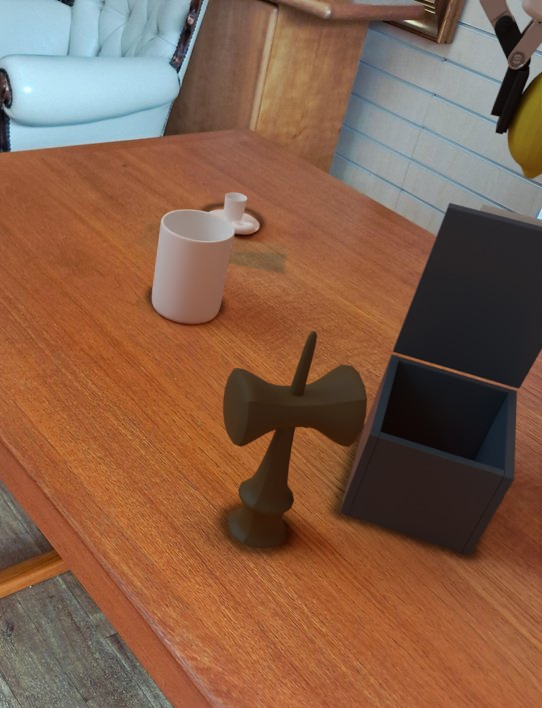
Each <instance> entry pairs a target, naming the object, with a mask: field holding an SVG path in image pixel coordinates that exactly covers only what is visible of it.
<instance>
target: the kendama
mask: <svg viewBox="0 0 542 708" xmlns="http://www.w3.org/2000/svg"><path fill="white" fill-rule="evenodd" d="M317 339H318V333H317V331H315V330H312V331H310V332H309V334H308V336H307V338H306V341H305V343H304V346H303V348H302V352H301V355H300V357H299V361H298V364H297V367H296V370H295V373H294V375H293V379H292V382H291V385H284V384H283V385H281V384H275V383H271V382H269V381H267V380H264V379H263V378H261V377H260V376H258V375H256V374H254V373H253V372H251V371H249V370H247V369H245V368H241V367H235V368H233V369H232V370H231V372H230V374H229V375H228V377H227V380H226V383H225V386H224V390H223V391H224V392H223V399H222V414H223V423H224V429H225V430H226V431H225V432H226V434H227V436H228V438H229V439H230V441H231V443H232V445H235V446H237V447H244V446H247V445H249V444H252V443H253V442H254V441H256V440H258V439H259V438H261V437H263V436H265V435H267V434H269V433H270V432H273V431H274V433H273V435H272V438H271V440H270V442H269V444H268V447H267V449H266V450H265V451H266V452H265V454H264V455H263V458H262V459H261V462H260V464H259V466H258V467H257V469H256V471H255V473H254V474H253V475H252V476H251V477H249V478H247V479H245V480H243V481H241V482H240V485H239V487H238V489H237V490H238V491H237V492H238V497H239V500H240V501H241V505H240V508H237V509H235V510H234V511H232V512H231V513H230V514H229V516H228V518H227V526H228V527H227V528H228V530H229V532H230V534H231V536H232V537H233V539H235V540H236V541H238V542H239V543H240V544H241V545H244V546H246V547H250V548H253V549H269V548H275V547H277V546H279V545H281V544H282V543H284V542H285V539H286V538H287V529H286V525H285V522H284V521H283V518H284V514H286V512H288V511H290V510H291V509H292V507H293V505H294V503H295V497H294V492H293V491H292V489H291V488H290V486H289V484H288V483H289V471H290V462H291V455H292V448H293V443H294V437H295V431H296V428H304V429H314V430H316V431H317V432H318V433H320V434H322V435H323V436H325V437H326V438H328V440H330V441H332V442H333V443H335V444H337V445H339V446H342V447H344V448H348V447H351V446H352V445H354V444H355V443H356V442H357V440H358V438H359V436H360V435H361V434H362V432H363V429H364V426H365V422H366V417H367V410H368V409H367V407H368V405H367V404H368V397H367V391H366V386H365V383H364V381H363V379H362V376H361V375H360V372H359V371H358V370H357V368H355V367H354V366H353V365H351V364H340V365H338V366H335V368H333V369H331V370H330V371H328V372H327V373H326V374H324V375H323V376H321V377H320V378H318V379H316V380H315V381H312V382H310V383H307V382H308V377H309V373H310V370H311V366H312V362H313V358H314V354H315V349H316V345H317V341H318V340H317Z"/></svg>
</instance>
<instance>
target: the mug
mask: <svg viewBox="0 0 542 708" xmlns="http://www.w3.org/2000/svg"><path fill="white" fill-rule="evenodd" d="M209 212H210V211H209ZM209 212H208V211H205V210H200V209H188V208H187V209H175V210H171V211H169V212H167V213H165V214H164V215H163V216H162V217H161V220H160V226H159V234H158V242H157V249H156V250H157V251H156V257H155V265H154V266H155V267H154V275H153V281H152V288H151V289H152V290H151V304H152V306H153V308H154V310H155V311H156V312H157V313H158V314H159V315H160V316H162V317H163V318H165V319H167V320H169V321H172V322H175V323H179V324H183V325H184V324H185V325H200V324H204V323H207V322H209V321H211V320H213V319H214V318H216V317H217V315H218V314H219V311H220V309H221V305H222V301H223V297H224V291H225V285H226V281H227V275H228V270H229V265H230V261H231V254H232V250H233V249H232V248H233V244H234V239H235V235H236V234H235V229H234V227H233V225H232V224H231V223H230V222H229V221H227V220H226V219H224V218H222V217H220V216H218V215H215V214H212V213H209Z"/></svg>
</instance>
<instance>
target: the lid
mask: <svg viewBox="0 0 542 708" xmlns="http://www.w3.org/2000/svg"><path fill="white" fill-rule="evenodd" d="M433 241H434V242H433V244H432V247H431V249H430V252H429V254H428V257H427V260H426V263H425V265H424V268H423V270H422V273H421V275H420V277H419V280H418V283H417V286H416V288H415V291H414V294H413V297H412V299H411V301H410V304H409V307H408V308H407V311H406V315H405V317H404V320H403V323H402V325H401V328H400V329H399V333H398V335H397V338H396V340H395V343H394V346H393V348H392V352H393V353H395V354H399V355H402V356H405V357H408V358H412V359H415V360H419V361H422V362H425V363H429V364H432V365H437V366H440V367H443V368H447V369H450V370H453V371H457V372H460V373H464V374H467V375H471V376H474V377H478V378H480V379H484V380H487V381H491V382H494V383H498V384H501V385H504V386H508V387H510V388H511V387H512V388H515V389H520V388H521V386H522V385H523V383H524V382H525V380H526V378H527V376H528V375H529V372H530V371H531V369H532V367H533V365H534V364H535V362H536V360H537V358H538V357H539V355H540V354H541V351H542V218H538V217H537V218H536V217H533V216H529V215H525V214H523V213H522V214H521V213H517V212H513V211H511V210H505V209H502V208H498V207H494V206H491V205H486V204H482V205H481V207H480V208H479V209H476V208H472V207H467V206H463V205H459V204H456V203H452V202H449V203H448V205H447V208H446V210H445V212H444V215H443V218H442V221H441V222H440V226H439V228H438V231H437V234H436V236H435V239H434V240H433Z"/></svg>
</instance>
